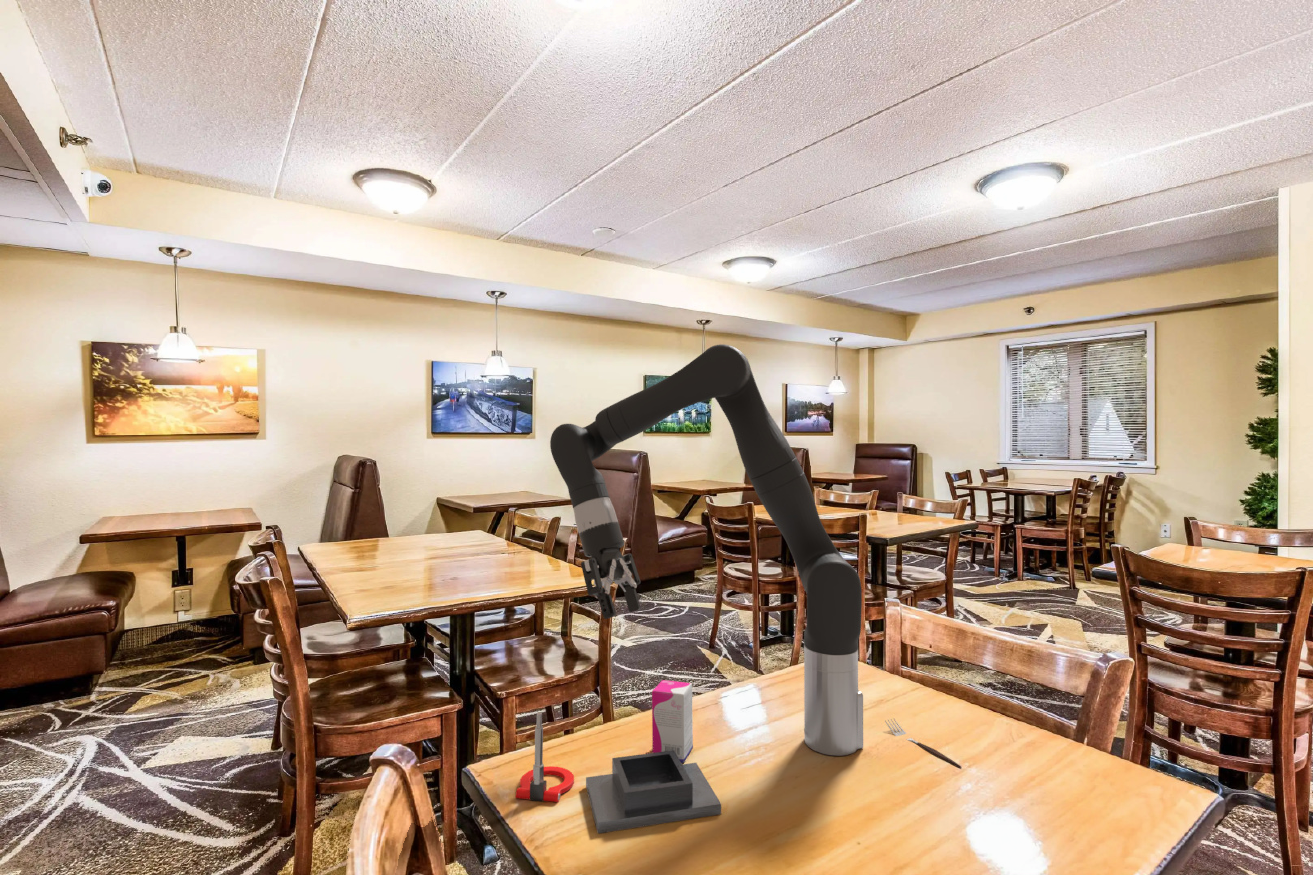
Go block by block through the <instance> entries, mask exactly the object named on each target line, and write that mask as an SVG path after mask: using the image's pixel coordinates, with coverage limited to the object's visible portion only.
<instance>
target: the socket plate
mask: <svg viewBox="0 0 1313 875" xmlns="http://www.w3.org/2000/svg"><path fill="white" fill-rule="evenodd" d="M611 760H612V762H611V763H612V764H611V766H612V768H611V769H612V772H611V773H608V774H603V775H601V774H600V775H593V776H587V777H585V788H586V792H587V797H588V801H589V804H590V808H591V812H592V816H593V820H594V824H595V827H596V832H597V834H602V833H603V834H604V833H610V832H611V833H612V832H617V831H624V830H628V829H636V828H642V827H648V826H654V825H655V826H656V825H660V824H667V823H674V822H680V821H686V820H694V819H698V818H699V819H700V818H705V817H706V818H707V817H712V816H718V815H722V803H721V801H720V800H719V798H718V796H717V794H716V793H715V791H714V790H713V788H712V787H711V784H710V783H709V781H708V779H707V778H706V777H705V775H704V773H703V771H702V770H701V768H700V767H699V765H698V762H691V763H684V764H683V763H681V762H680V760H679V758H678V756H677V755H676V753H675V751H674V750H672V751H664V752H656V753H652V752H650V753H649V752H648V753H643V754H634V755H633V754H632V755H628V756H627V755H626V756H619V757H612V759H611Z"/></svg>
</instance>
